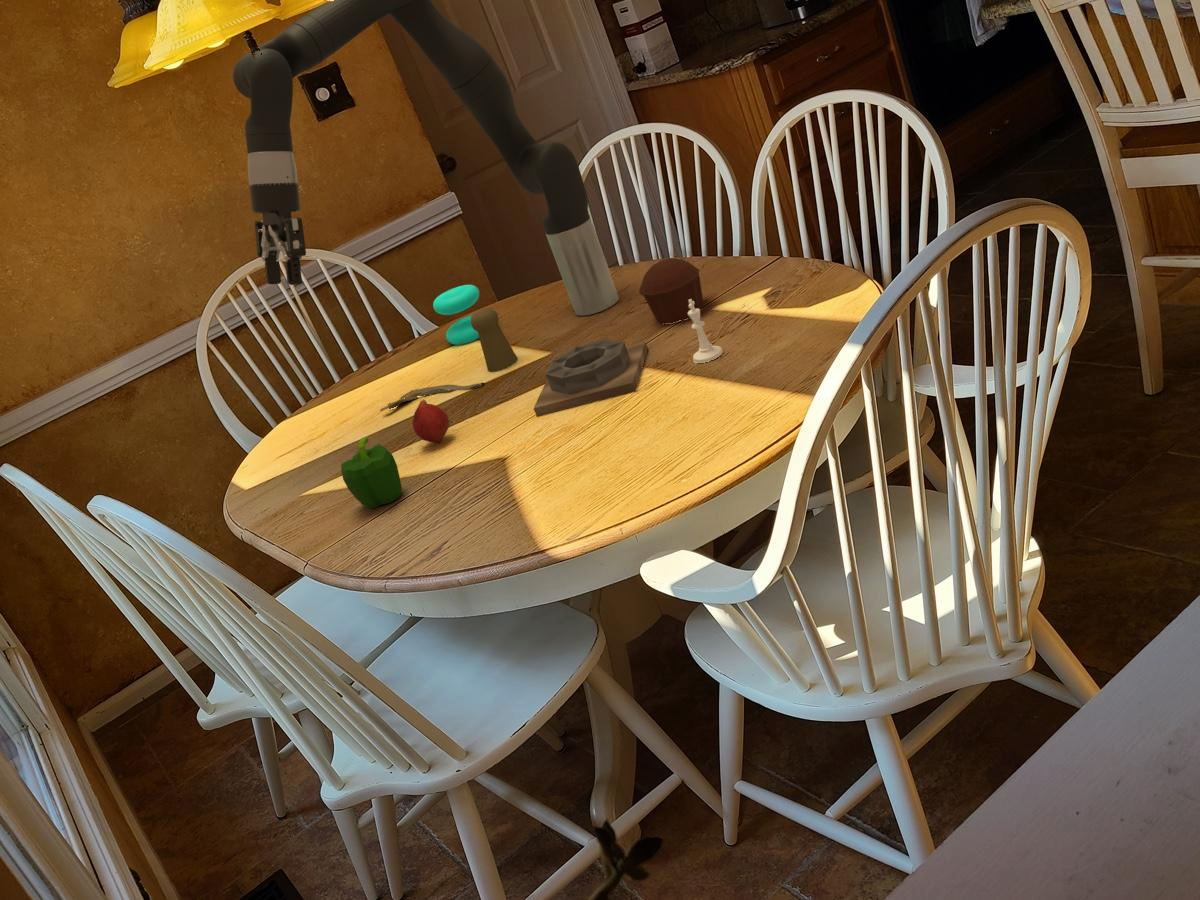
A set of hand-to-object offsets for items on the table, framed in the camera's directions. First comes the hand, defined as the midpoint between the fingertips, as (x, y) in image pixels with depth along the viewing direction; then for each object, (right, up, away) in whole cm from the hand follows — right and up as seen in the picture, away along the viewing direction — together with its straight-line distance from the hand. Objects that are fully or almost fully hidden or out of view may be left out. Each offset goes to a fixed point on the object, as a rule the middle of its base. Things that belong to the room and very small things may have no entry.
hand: (284, 284), depth 181 cm
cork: (+33, -11, +28) cm, 45 cm away
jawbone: (+21, -18, +24) cm, 37 cm away
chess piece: (+69, -12, -4) cm, 70 cm away
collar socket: (+50, -16, +4) cm, 53 cm away
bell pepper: (+19, -35, -10) cm, 41 cm away
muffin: (+66, -3, +19) cm, 69 cm away
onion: (+25, -26, +3) cm, 36 cm away
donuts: (+25, -3, +52) cm, 58 cm away
